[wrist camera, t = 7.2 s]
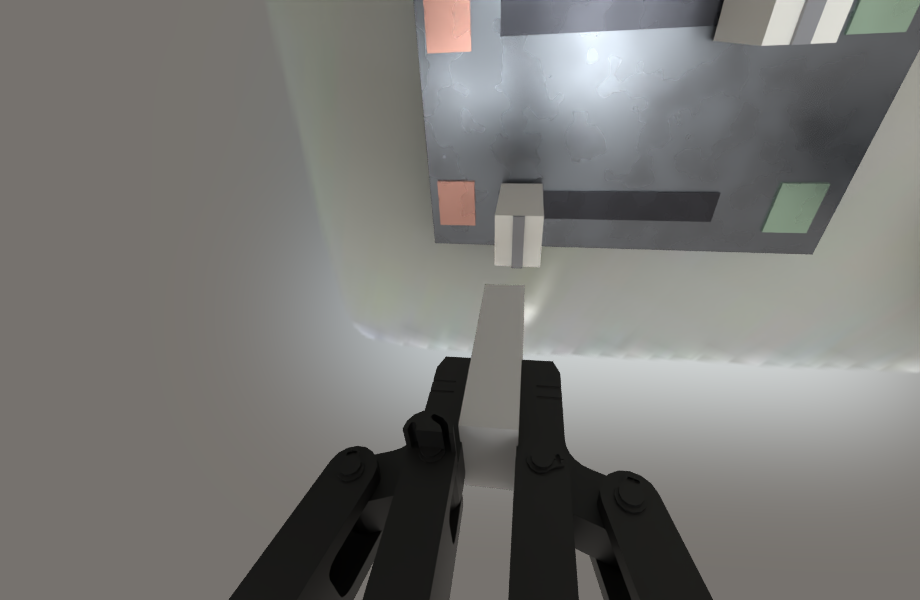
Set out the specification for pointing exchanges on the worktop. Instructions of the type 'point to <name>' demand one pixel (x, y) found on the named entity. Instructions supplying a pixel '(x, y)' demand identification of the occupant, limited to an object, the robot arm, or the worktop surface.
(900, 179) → the worktop surface
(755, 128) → the breaker panel
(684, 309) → the worktop surface
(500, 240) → the block
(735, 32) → the block
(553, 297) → the worktop surface
